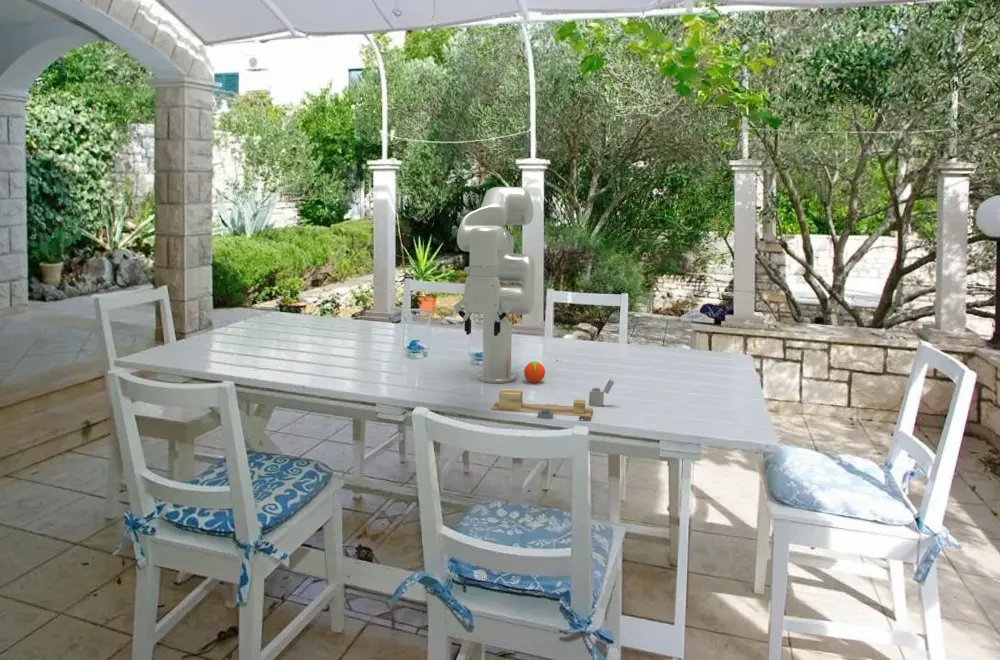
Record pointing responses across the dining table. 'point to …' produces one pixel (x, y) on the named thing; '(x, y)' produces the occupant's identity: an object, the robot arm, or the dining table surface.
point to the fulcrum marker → (545, 414)
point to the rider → (510, 399)
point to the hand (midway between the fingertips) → (482, 334)
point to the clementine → (534, 372)
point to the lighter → (599, 394)
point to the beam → (554, 409)
